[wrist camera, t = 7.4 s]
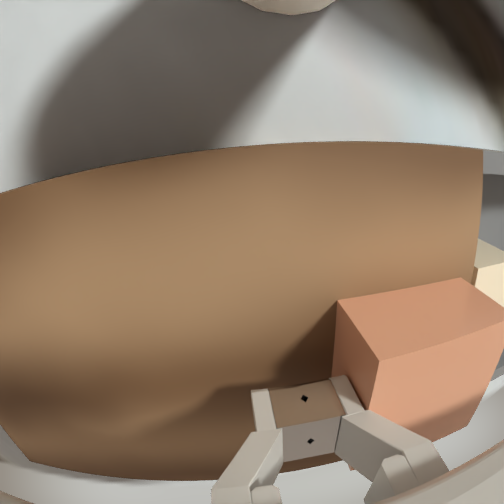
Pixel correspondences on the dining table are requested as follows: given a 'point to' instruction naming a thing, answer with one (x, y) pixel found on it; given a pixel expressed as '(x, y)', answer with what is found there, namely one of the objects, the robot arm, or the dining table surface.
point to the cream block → (489, 271)
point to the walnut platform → (207, 290)
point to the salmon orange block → (420, 353)
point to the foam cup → (289, 5)
